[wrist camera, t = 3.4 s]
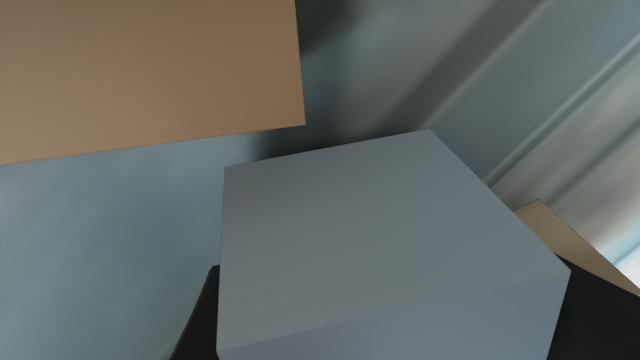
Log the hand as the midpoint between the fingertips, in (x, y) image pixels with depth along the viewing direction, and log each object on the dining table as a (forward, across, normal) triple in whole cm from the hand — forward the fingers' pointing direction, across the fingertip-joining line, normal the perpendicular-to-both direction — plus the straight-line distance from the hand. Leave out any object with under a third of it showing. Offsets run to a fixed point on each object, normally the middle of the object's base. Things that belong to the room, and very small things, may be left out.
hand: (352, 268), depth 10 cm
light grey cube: (+2, 0, 0) cm, 2 cm away
